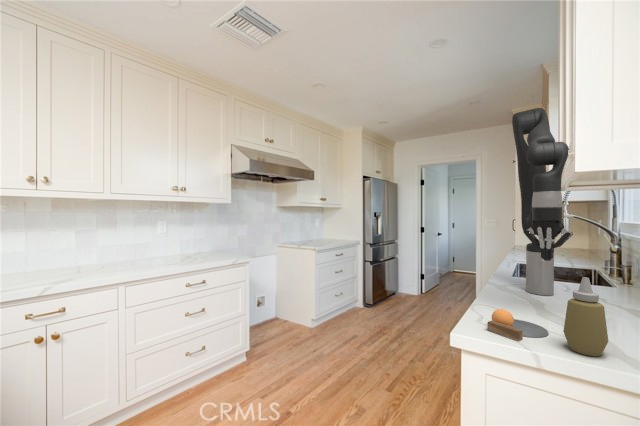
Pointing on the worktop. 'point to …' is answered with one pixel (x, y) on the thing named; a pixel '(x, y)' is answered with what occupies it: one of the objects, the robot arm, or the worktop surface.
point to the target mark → (530, 329)
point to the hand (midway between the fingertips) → (547, 260)
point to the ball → (503, 317)
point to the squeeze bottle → (586, 321)
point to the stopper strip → (505, 330)
